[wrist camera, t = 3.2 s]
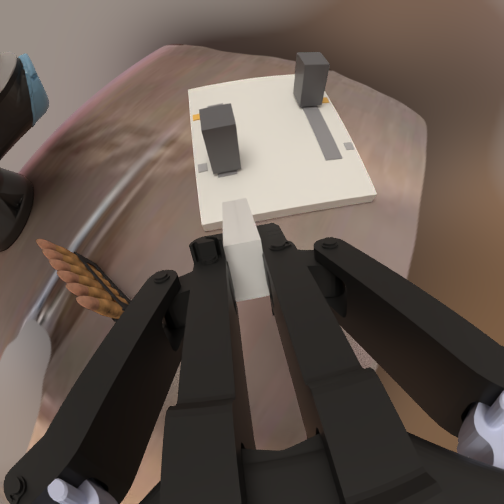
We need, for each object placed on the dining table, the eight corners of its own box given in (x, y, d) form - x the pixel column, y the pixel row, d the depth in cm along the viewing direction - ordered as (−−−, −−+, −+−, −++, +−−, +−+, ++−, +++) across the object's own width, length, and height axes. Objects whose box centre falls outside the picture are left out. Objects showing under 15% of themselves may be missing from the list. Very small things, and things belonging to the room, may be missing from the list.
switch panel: (371, 201, 34) (377, 193, 32) (205, 231, 34) (201, 224, 31) (312, 81, 42) (313, 72, 40) (190, 98, 42) (187, 88, 40)
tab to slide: (241, 168, 33) (235, 124, 26) (213, 174, 33) (201, 130, 26) (236, 148, 34) (230, 103, 27) (210, 153, 34) (198, 109, 27)
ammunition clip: (86, 272, 32) (28, 242, 21) (94, 262, 33) (38, 227, 22) (136, 327, 30) (76, 314, 19) (145, 315, 31) (88, 297, 19)
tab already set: (321, 105, 37) (329, 64, 29) (299, 106, 37) (304, 64, 29) (314, 91, 38) (320, 52, 30) (293, 93, 38) (296, 52, 30)
